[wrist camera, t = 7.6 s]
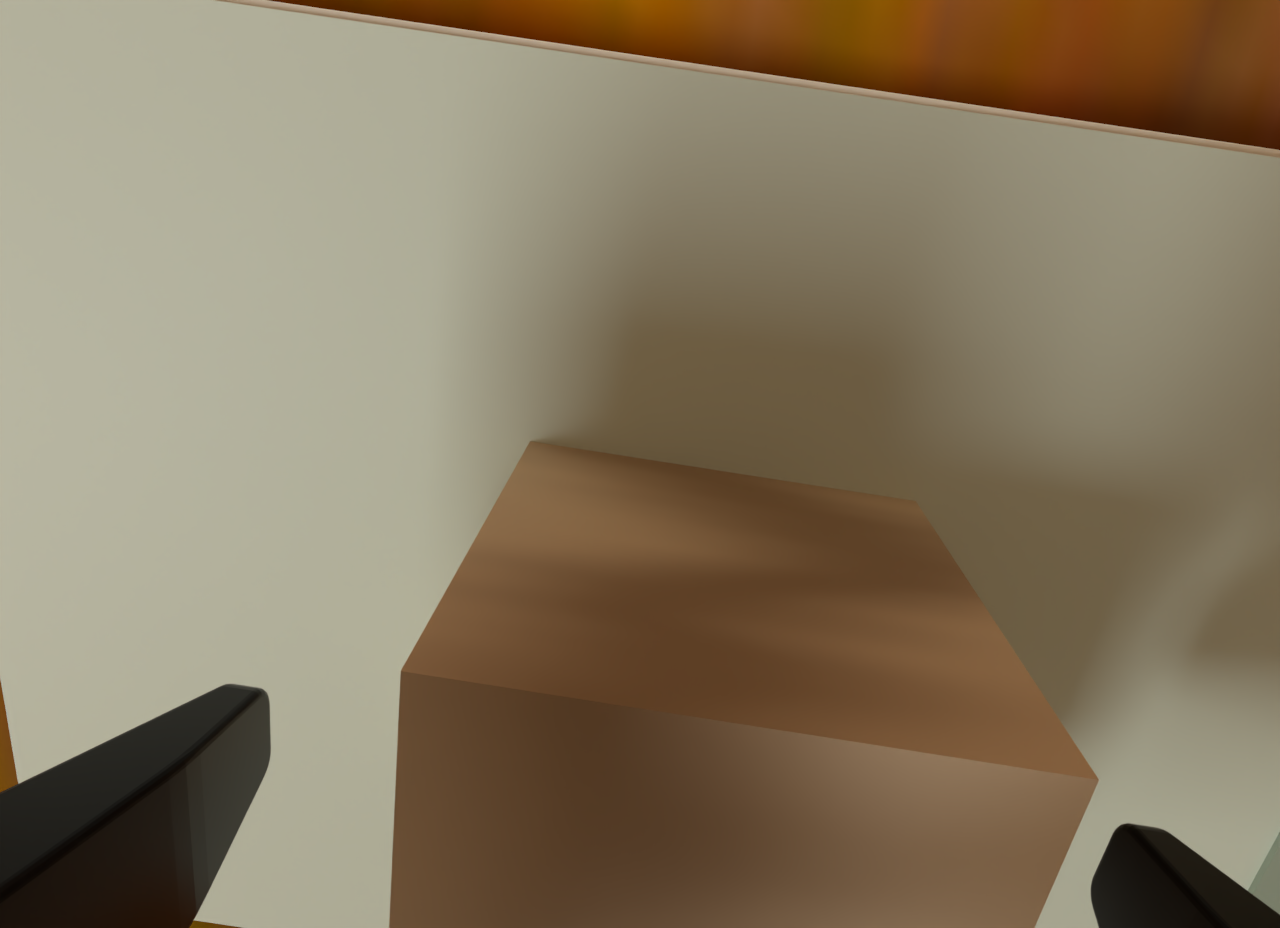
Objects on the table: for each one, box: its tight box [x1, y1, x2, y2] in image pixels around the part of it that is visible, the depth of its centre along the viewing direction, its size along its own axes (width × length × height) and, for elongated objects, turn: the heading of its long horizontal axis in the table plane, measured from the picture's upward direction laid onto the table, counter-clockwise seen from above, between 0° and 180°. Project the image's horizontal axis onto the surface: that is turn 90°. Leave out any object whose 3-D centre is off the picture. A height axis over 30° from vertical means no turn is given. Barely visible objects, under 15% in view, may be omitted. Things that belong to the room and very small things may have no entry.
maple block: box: [389, 441, 1099, 928], centre depth 9 cm, size 5×5×5 cm
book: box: [0, 0, 1280, 928], centre depth 12 cm, size 20×14×3 cm
